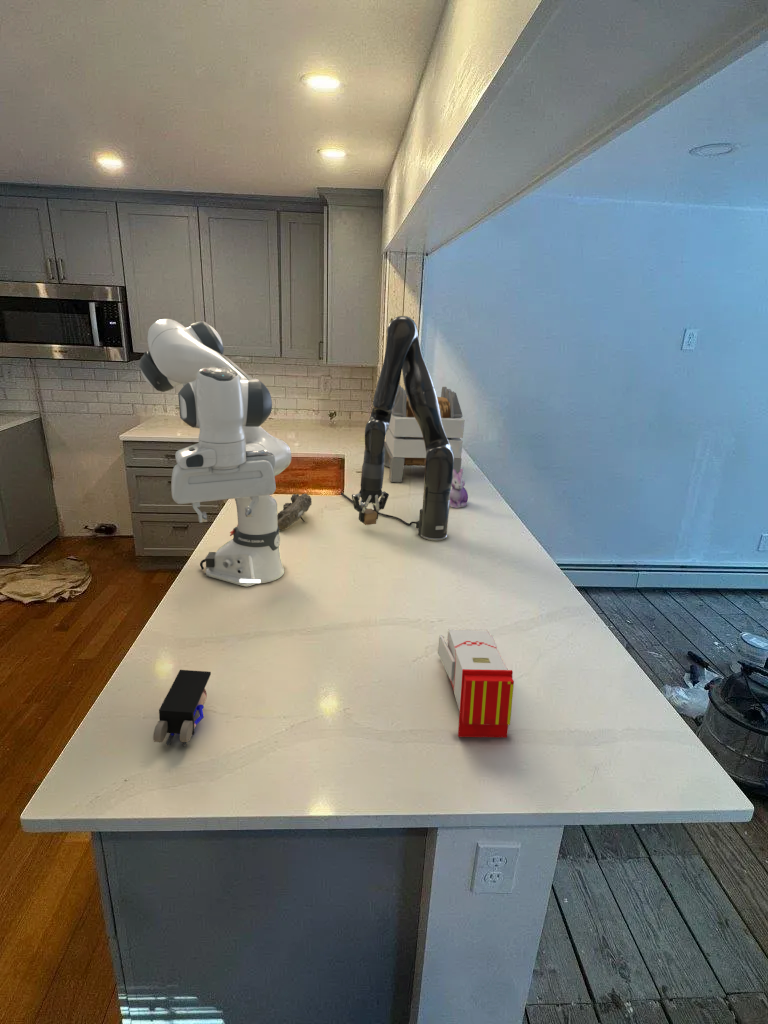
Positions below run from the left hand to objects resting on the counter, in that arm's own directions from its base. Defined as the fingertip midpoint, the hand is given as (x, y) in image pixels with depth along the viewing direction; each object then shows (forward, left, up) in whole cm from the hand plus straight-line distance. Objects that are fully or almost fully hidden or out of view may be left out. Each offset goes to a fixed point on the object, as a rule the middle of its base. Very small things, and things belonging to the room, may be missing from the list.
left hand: (226, 518), depth 116 cm
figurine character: (+2, -23, -33) cm, 40 cm away
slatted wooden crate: (+12, +164, -33) cm, 168 cm away
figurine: (+35, +123, -33) cm, 132 cm away
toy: (+52, +3, -33) cm, 62 cm away
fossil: (-19, +82, -33) cm, 91 cm away
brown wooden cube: (+8, +82, -29) cm, 88 cm away
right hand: (+8, +82, -29) cm, 88 cm away
